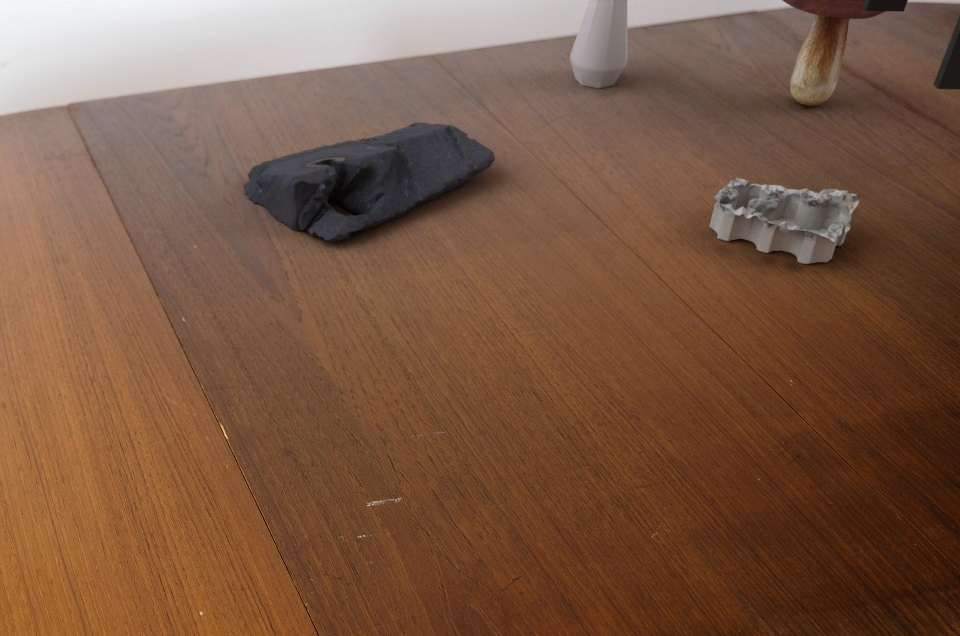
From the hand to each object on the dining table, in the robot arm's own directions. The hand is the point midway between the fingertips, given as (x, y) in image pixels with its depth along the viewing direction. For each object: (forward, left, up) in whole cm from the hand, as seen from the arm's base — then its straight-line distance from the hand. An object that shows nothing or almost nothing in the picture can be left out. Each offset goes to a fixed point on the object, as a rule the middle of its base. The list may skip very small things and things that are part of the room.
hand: (917, 46), depth 85 cm
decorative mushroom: (+5, -38, -21) cm, 43 cm away
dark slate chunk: (+40, -5, -21) cm, 45 cm away
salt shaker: (+26, -36, -21) cm, 49 cm away
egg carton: (+5, -9, -21) cm, 23 cm away
